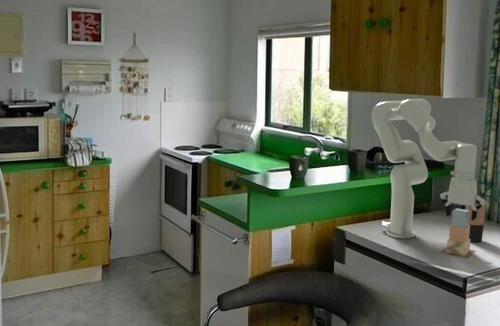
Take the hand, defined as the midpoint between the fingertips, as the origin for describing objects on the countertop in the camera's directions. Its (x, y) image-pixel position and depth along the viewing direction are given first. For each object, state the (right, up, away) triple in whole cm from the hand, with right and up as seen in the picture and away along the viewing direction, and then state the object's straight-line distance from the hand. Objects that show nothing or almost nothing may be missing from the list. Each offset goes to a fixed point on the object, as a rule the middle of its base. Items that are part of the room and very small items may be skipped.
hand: (460, 217), depth 227 cm
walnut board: (0, -15, +3) cm, 15 cm away
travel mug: (+12, -12, +18) cm, 24 cm away
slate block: (0, -3, +1) cm, 3 cm away
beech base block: (0, -14, +3) cm, 14 cm away
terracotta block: (0, -9, +2) cm, 9 cm away
